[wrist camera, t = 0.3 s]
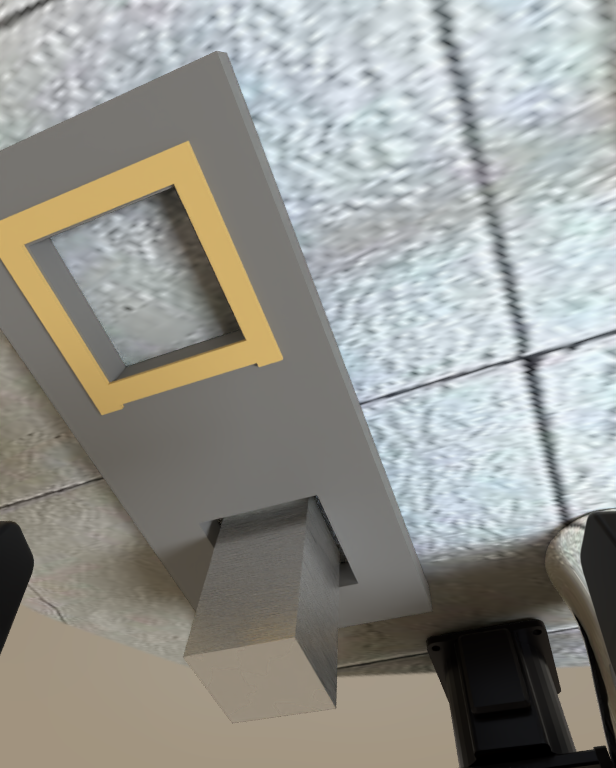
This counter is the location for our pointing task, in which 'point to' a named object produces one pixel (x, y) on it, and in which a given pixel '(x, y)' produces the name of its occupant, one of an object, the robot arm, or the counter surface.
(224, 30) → the counter surface
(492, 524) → the counter surface
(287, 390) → the rail
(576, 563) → the silver metal cylinder
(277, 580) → the peg
